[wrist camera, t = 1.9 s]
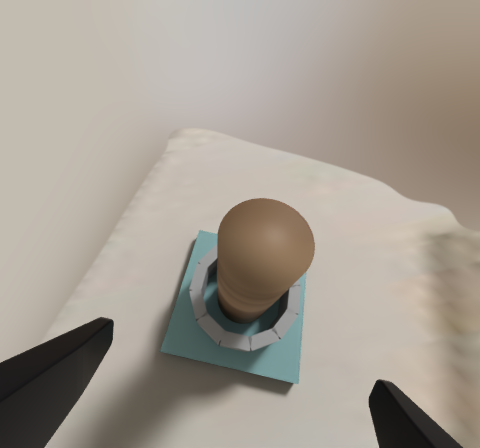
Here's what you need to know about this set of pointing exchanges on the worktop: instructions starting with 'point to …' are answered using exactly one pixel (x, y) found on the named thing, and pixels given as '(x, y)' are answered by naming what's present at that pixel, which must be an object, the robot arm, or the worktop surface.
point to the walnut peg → (260, 256)
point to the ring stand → (230, 333)
